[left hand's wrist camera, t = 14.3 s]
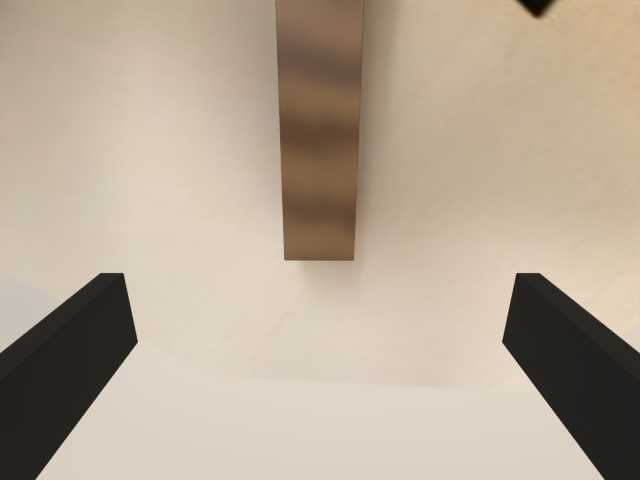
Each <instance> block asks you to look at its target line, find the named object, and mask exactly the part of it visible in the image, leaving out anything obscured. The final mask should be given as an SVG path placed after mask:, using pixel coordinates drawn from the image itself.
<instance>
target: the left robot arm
mask: <svg viewBox="0 0 640 480" xmlns="http://www.w3.org/2000/svg"><path fill="white" fill-rule="evenodd" d="M137 343H138V340H137V335H136V331H135V326H134V321H133V316H132V312H131V307H130V302H129V297H128V292H127V288H126V283H125V278H124V273H100V274H99V275H98V276H96V277H95V278H94V279H93V280H91V281H90V282H89V283H88V284H86V285H85V286H84V287H83V288H81V289H80V290H79V291H78V292H76V293H75V294H74V295H73V296H71V297H70V298H69V299H68V300H66V301H65V302H64V303H63V304H61V305H60V306H59V307H58V308H56V309H55V310H54V311H53V312H51V313H50V314H49V315H48V316H46V317H45V318H44V319H43V320H41V321H40V322H39V323H38V324H36V325H35V326H34V327H32V328H31V329H30V330H29V331H28V332H26V333H25V334H24V335H22V336H21V337H20V338H19V339H17V340H16V341H15V342H14V343H12V344H11V345H10V346H9V347H7V348H6V349H5V350H4V351H2V352H1V353H0V480H36V478H37V477H38V475H39V474H40V473H41V471H42V470H43V469H44V467H45V466H46V465H47V463H48V462H49V461H50V459H51V458H52V457H53V455H54V454H55V453H56V451H57V450H58V449H59V447H60V446H61V445H62V443H63V442H64V441H65V439H66V438H67V437H68V435H69V434H70V433H71V431H72V430H73V428H74V427H75V426H76V424H77V423H78V422H79V421H80V419H81V418H82V416H83V415H84V414H85V412H86V411H87V410H88V408H89V407H90V406H91V404H92V403H93V402H94V400H95V399H96V398H97V396H98V395H99V394H100V392H101V391H102V390H103V388H104V387H105V386H106V384H107V383H108V382H109V380H110V379H111V378H112V376H113V375H114V374H115V372H116V371H117V370H118V368H119V367H120V366H121V364H122V363H123V362H124V360H125V359H126V357H127V356H128V355H129V353H130V352H131V351H132V349H133V348H134V347H135V345H136V344H137ZM502 343H503V344H504V345H505V347H506V348H507V349H508V351H509V352H510V353H511V355H512V356H513V357H514V359H515V360H516V362H517V363H518V364H519V366H520V367H521V368H522V370H523V371H524V372H525V374H526V375H527V376H528V378H529V379H530V380H531V382H532V383H533V384H534V386H535V387H536V388H537V390H538V391H539V392H540V394H541V395H542V396H543V398H544V399H545V400H546V402H547V403H548V404H549V406H550V407H551V408H552V410H553V411H554V412H555V414H556V415H557V416H558V418H559V419H560V421H561V422H562V423H563V425H564V426H565V427H566V428H567V430H568V431H569V433H570V434H571V435H572V437H573V438H574V439H575V441H576V442H577V443H578V445H579V446H580V447H581V449H582V450H583V451H584V453H585V454H586V455H587V457H588V458H589V459H590V461H591V462H592V463H593V465H594V466H595V467H596V469H597V470H598V471H599V473H600V474H601V475H602V477H603V478H604V479H605V480H640V353H639V352H638V351H636V350H635V349H634V348H633V347H631V346H630V345H629V344H628V343H626V342H625V341H624V340H623V339H621V338H620V337H619V336H618V335H616V334H615V333H614V332H613V331H611V330H610V329H609V328H608V327H606V326H605V325H604V324H603V323H601V322H600V321H599V320H598V319H596V318H595V317H594V316H593V315H591V314H590V313H589V312H587V311H586V310H585V309H584V308H582V307H581V306H580V305H579V304H577V303H576V302H575V301H574V300H572V299H571V298H570V297H569V296H567V295H566V294H565V293H564V292H562V291H561V290H560V289H559V288H557V287H556V286H555V285H554V284H552V283H551V282H550V281H549V280H547V279H546V278H545V277H544V276H542V275H541V274H540V273H516V278H515V283H514V288H513V292H512V297H511V302H510V307H509V312H508V316H507V321H506V326H505V331H504V335H503V340H502Z"/></svg>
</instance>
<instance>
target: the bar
mask: <svg viewBox="0 0 640 480" xmlns="http://www.w3.org/2000/svg"><path fill="white" fill-rule="evenodd" d="M363 11H364V0H276V27H277V57H278V86H279V116H280V145H281V175H282V205H283V234H284V260H351V261H353V260H354V242H355V217H356V191H357V165H358V139H359V114H360V88H361V62H362V37H363Z"/></svg>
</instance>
